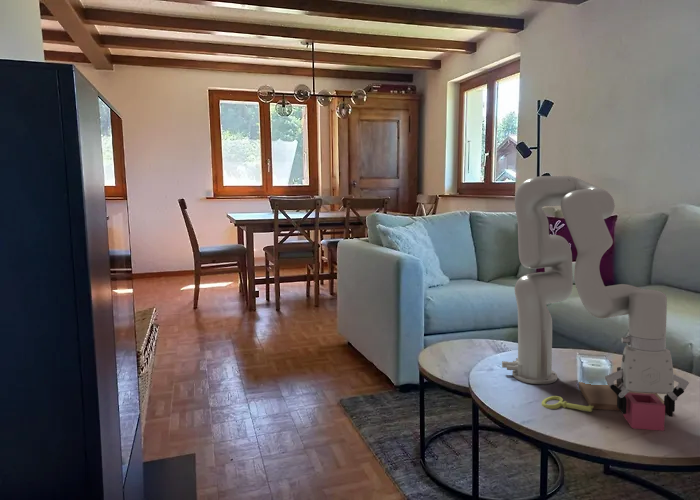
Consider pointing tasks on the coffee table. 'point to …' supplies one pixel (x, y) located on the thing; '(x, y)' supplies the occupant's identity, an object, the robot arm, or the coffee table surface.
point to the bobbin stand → (604, 395)
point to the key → (564, 404)
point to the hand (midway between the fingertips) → (645, 412)
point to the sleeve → (645, 411)
